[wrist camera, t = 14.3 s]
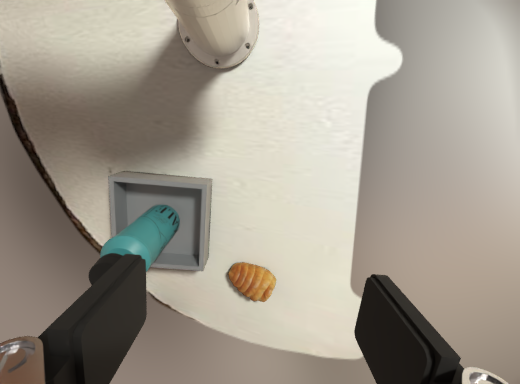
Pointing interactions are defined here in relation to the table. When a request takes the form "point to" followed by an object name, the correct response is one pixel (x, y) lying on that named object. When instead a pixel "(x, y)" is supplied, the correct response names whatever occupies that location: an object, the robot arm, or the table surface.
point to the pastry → (252, 281)
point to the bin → (176, 196)
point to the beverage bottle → (139, 239)
